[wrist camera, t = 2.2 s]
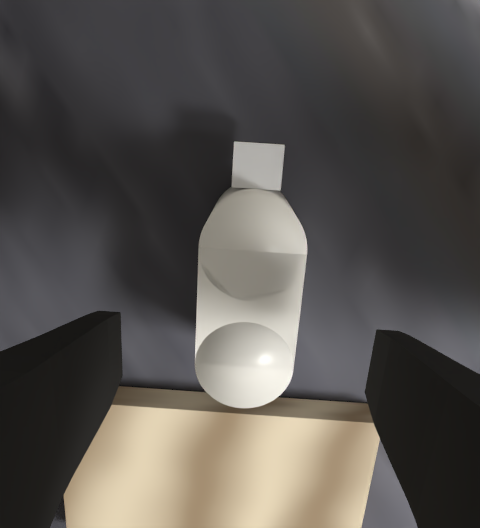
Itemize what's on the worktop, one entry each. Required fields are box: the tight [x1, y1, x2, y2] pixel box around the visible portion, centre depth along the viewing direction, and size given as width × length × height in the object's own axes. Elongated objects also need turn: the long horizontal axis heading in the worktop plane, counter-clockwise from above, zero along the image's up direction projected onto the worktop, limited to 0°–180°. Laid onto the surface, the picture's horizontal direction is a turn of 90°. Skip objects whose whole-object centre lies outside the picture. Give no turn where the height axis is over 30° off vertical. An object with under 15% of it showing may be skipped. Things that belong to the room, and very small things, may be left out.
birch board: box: [64, 386, 380, 528], centre depth 21 cm, size 16×10×2 cm, turn 86°
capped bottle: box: [195, 142, 307, 408], centre depth 16 cm, size 4×10×5 cm, turn 176°
